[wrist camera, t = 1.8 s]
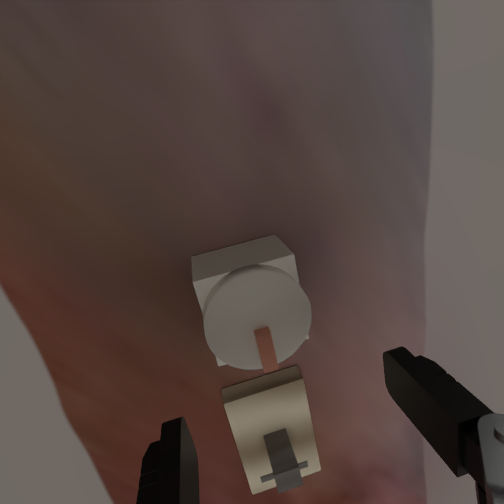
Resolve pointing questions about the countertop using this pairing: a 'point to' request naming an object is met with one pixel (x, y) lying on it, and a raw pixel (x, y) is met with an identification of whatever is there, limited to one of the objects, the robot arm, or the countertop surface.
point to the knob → (251, 303)
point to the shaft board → (273, 429)
